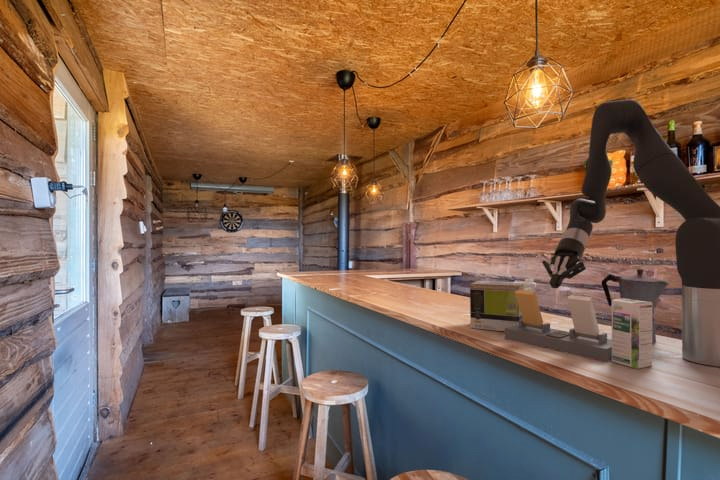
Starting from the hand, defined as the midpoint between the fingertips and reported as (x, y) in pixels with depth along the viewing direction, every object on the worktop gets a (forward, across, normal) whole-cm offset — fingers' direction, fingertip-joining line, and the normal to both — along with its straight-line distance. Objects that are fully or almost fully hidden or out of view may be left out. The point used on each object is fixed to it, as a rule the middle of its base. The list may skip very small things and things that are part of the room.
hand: (553, 286), depth 112 cm
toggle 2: (+15, +14, -1) cm, 21 cm away
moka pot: (+3, +17, +18) cm, 25 cm away
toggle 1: (+15, 0, -1) cm, 15 cm away
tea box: (+14, -15, +6) cm, 22 cm away
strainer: (+5, -13, +15) cm, 21 cm away
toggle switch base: (+18, +7, +2) cm, 19 cm away
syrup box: (+20, +24, +1) cm, 31 cm away
